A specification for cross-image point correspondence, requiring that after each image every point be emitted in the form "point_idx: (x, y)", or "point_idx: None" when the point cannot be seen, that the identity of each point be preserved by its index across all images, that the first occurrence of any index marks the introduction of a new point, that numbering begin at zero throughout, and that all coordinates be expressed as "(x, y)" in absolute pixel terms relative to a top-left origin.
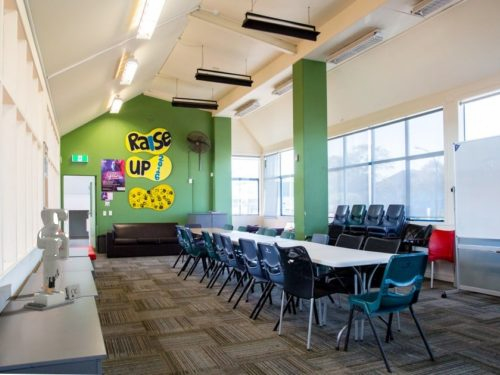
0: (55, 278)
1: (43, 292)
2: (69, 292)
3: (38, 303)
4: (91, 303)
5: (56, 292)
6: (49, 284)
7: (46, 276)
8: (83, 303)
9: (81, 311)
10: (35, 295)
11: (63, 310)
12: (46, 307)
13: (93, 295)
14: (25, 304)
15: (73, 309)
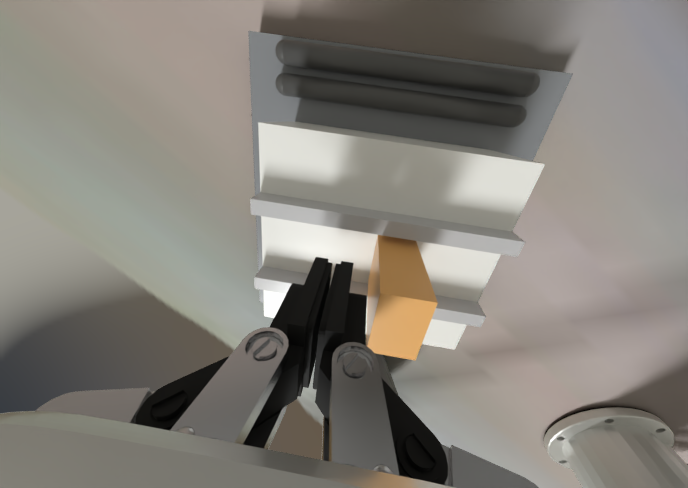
0: (94, 403)
1: (426, 222)
2: None
3: (421, 140)
4: (173, 305)
5: (302, 275)
6: (328, 294)
7: (369, 480)
8: (209, 296)
9: (18, 140)
10: (501, 156)
11: (138, 117)
12: (251, 69)
13: (312, 414)
14: (557, 88)
15: (113, 166)
